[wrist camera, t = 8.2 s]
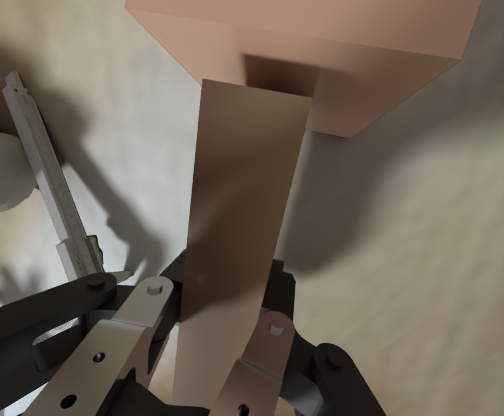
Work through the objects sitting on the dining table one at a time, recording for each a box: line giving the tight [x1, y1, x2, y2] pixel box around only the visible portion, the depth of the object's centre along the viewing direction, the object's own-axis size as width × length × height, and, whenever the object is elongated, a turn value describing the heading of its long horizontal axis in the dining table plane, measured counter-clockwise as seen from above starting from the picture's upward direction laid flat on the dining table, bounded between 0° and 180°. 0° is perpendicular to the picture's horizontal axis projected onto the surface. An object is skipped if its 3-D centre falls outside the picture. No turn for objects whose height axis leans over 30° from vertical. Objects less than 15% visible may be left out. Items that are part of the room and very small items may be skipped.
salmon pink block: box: [125, 0, 482, 138], centre depth 10 cm, size 8×2×10 cm, turn 79°
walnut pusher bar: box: [172, 78, 313, 410], centre depth 11 cm, size 3×16×5 cm, turn 170°
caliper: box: [2, 70, 133, 327], centre depth 18 cm, size 21×1×6 cm, turn 22°
